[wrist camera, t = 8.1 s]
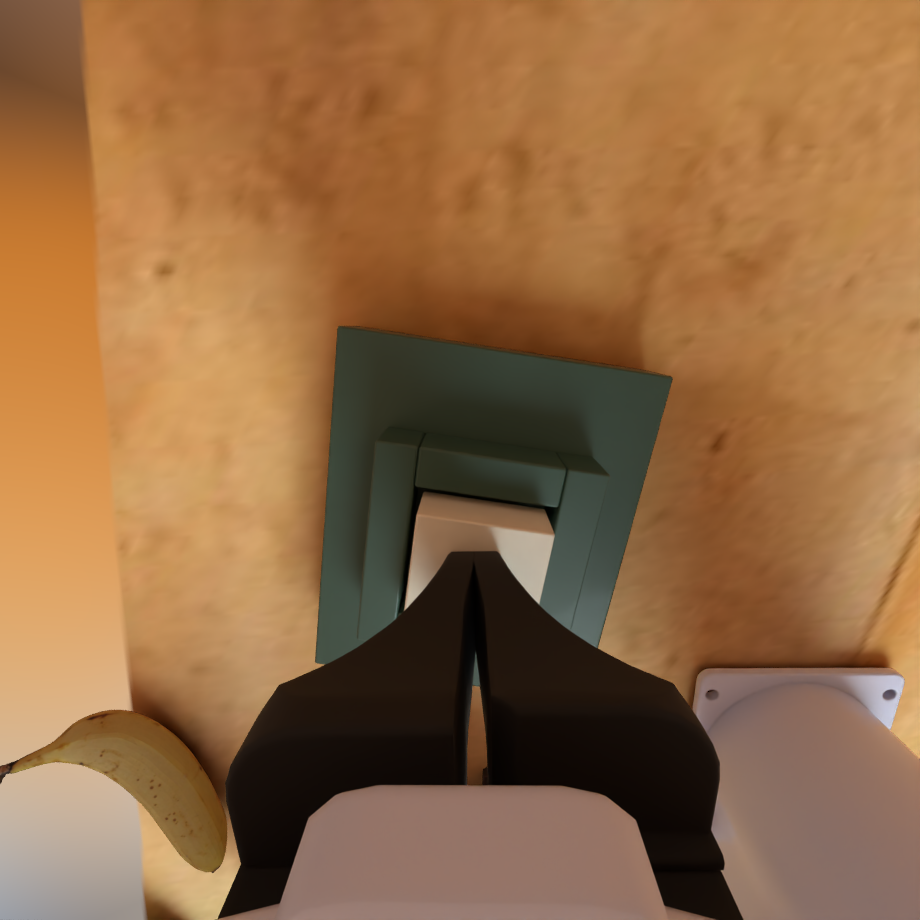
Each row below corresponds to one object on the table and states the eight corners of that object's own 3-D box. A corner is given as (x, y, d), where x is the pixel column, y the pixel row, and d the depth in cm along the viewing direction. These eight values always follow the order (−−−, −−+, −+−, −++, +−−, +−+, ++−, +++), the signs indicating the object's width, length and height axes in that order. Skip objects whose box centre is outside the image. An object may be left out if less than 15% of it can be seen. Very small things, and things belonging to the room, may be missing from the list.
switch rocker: (522, 613, 14) (529, 651, 12) (409, 596, 14) (400, 632, 12) (545, 508, 13) (555, 534, 11) (423, 490, 13) (416, 514, 11)
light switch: (570, 659, 19) (596, 745, 15) (332, 625, 19) (295, 703, 15) (646, 370, 15) (704, 384, 11) (355, 325, 15) (316, 324, 11)
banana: (279, 792, 21) (216, 892, 19) (266, 769, 23) (207, 859, 21) (76, 690, 17) (-29, 803, 15) (79, 673, 19) (-14, 772, 17)
